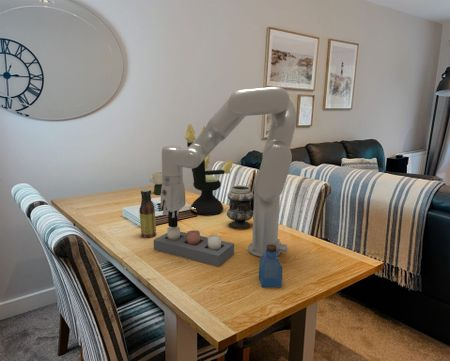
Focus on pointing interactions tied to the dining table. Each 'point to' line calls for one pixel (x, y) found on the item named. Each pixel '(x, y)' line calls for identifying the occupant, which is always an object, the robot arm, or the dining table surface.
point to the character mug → (157, 182)
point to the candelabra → (206, 181)
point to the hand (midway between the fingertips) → (172, 226)
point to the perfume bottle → (270, 268)
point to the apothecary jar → (240, 206)
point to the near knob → (214, 242)
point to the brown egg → (193, 237)
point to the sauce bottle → (147, 214)
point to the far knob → (173, 233)
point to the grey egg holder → (194, 249)
